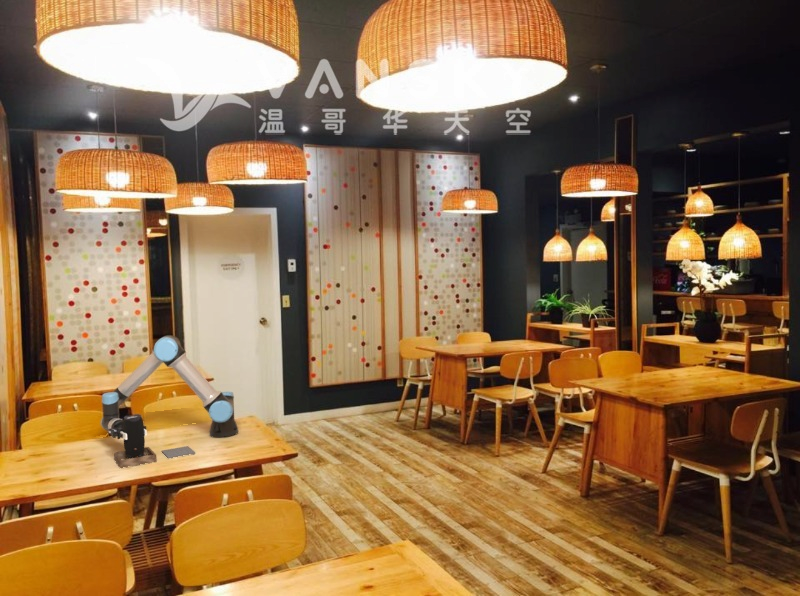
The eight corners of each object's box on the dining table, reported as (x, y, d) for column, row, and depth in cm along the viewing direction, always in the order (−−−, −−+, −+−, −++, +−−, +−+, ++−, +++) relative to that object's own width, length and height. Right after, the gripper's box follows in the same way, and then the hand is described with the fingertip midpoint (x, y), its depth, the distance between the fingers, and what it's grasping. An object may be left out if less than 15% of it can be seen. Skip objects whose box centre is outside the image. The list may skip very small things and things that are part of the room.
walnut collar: (149, 453, 316) (148, 446, 316) (156, 462, 303) (156, 454, 302) (114, 459, 307) (113, 452, 307) (120, 468, 294) (119, 461, 294)
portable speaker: (142, 458, 301) (139, 417, 300) (121, 459, 300) (119, 418, 299) (148, 453, 310) (145, 413, 308) (128, 454, 309) (125, 414, 307)
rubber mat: (188, 447, 325) (187, 446, 325) (195, 454, 314) (195, 452, 314) (161, 452, 318) (161, 450, 318) (167, 459, 307) (167, 457, 307)
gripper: (140, 429, 326) (158, 437, 309) (96, 438, 311) (113, 447, 295) (139, 415, 325) (158, 422, 309) (95, 423, 311) (112, 431, 294)
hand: (136, 434), depth 302 cm, fingers closed on portable speaker, 8 cm apart
